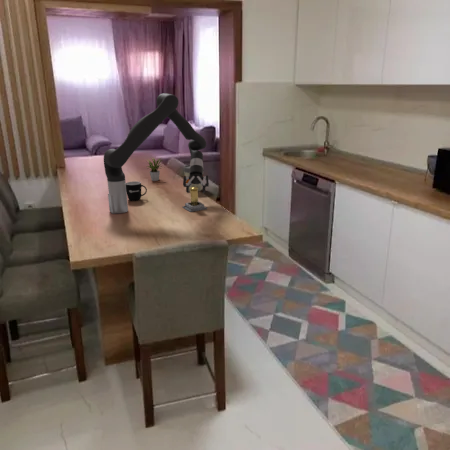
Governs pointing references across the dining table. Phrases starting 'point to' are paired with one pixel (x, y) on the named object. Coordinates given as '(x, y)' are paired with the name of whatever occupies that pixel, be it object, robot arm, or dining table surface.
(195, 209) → the square tray with knobs
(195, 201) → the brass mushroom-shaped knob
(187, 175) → the reusable coffee cup
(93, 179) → the dining table surface
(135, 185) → the mug
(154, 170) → the house plant
